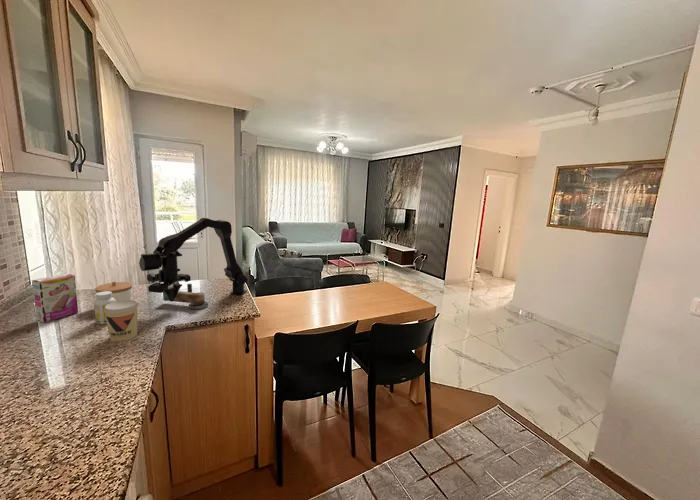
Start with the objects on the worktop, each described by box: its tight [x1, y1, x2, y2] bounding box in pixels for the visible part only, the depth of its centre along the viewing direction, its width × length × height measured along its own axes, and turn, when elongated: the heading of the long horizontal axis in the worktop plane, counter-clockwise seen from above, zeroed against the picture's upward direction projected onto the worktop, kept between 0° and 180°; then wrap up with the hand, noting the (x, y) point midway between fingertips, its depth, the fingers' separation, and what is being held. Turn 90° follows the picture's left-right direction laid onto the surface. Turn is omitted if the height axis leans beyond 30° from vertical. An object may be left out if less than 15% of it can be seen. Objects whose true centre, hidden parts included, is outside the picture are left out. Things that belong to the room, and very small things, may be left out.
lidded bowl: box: [94, 281, 133, 302], centre depth 127 cm, size 13×13×11 cm
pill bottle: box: [93, 291, 116, 325], centre depth 112 cm, size 6×6×12 cm
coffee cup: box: [104, 299, 139, 342], centre depth 102 cm, size 9×9×12 cm
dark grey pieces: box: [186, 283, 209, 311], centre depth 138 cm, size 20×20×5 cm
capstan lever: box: [162, 290, 206, 306], centre depth 133 cm, size 20×5×4 cm, turn 84°
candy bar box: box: [31, 273, 79, 324], centre depth 113 cm, size 11×5×16 cm, turn 164°
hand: (171, 301), depth 127 cm, fingers closed
